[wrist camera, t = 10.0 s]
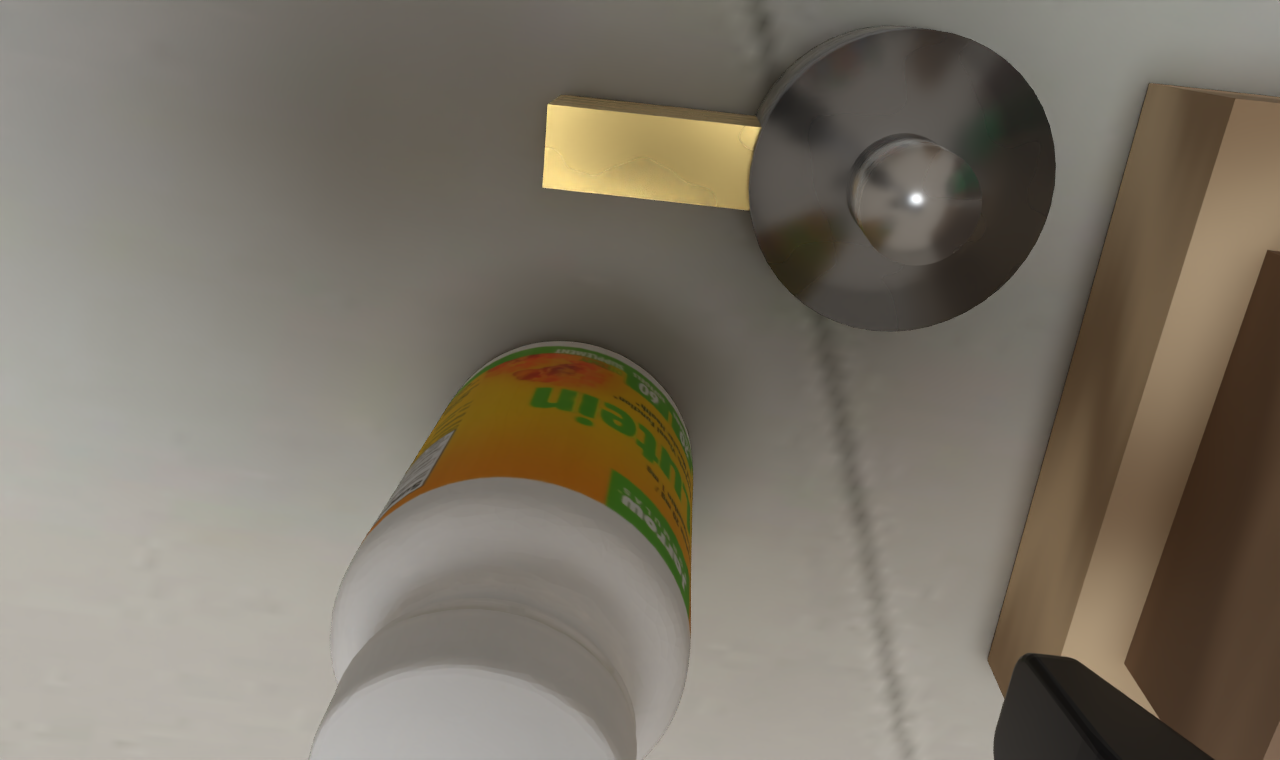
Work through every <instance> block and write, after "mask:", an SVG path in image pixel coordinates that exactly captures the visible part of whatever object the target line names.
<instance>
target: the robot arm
mask: <svg viewBox="0 0 1280 760" xmlns="http://www.w3.org/2000/svg"><path fill="white" fill-rule="evenodd" d="M993 751H994V760H1215V759H1214V758H1212V757H1211V756H1209V755H1208V754H1207V753H1205V752H1204V751H1202V750H1201V749H1200V748H1198V747H1197V746H1196V745H1194V744H1193V743H1191V742H1190V741H1189V740H1187V739H1186V738H1184V737H1183V736H1182V735H1180V734H1179V733H1178V732H1176V731H1175V730H1173V729H1172V728H1171V727H1169V726H1168V725H1166V724H1165V723H1164V722H1162V721H1161V720H1160V719H1158V718H1157V717H1155V716H1154V715H1153V714H1151V713H1150V712H1148V711H1147V710H1146V709H1144V708H1143V707H1142V706H1140V705H1139V704H1137V703H1136V702H1135V701H1133V700H1132V699H1130V698H1129V697H1128V696H1126V695H1125V694H1124V693H1122V692H1121V691H1119V690H1118V689H1117V688H1115V687H1114V686H1112V685H1111V684H1110V683H1108V682H1107V681H1106V680H1104V679H1103V678H1101V677H1100V676H1099V675H1097V674H1096V673H1095V672H1093V671H1092V670H1090V669H1089V668H1088V667H1086V666H1085V665H1083V664H1082V663H1081V662H1079V661H1078V660H1076V659H1073V658H1070V657H1065V656H1056V655H1047V654H1038V653H1026V654H1024V655H1023V656H1021V657H1020V658H1019V659H1018V661H1017V662H1016V664H1015V666H1014V669H1013V672H1012V676H1011V679H1010V682H1009V686H1008V689H1007V693H1006V696H1005V699H1004V703H1003V706H1002V710H1001V713H1000V716H999V720H998V723H997V727H996V730H995V735H994V749H993Z"/></svg>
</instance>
